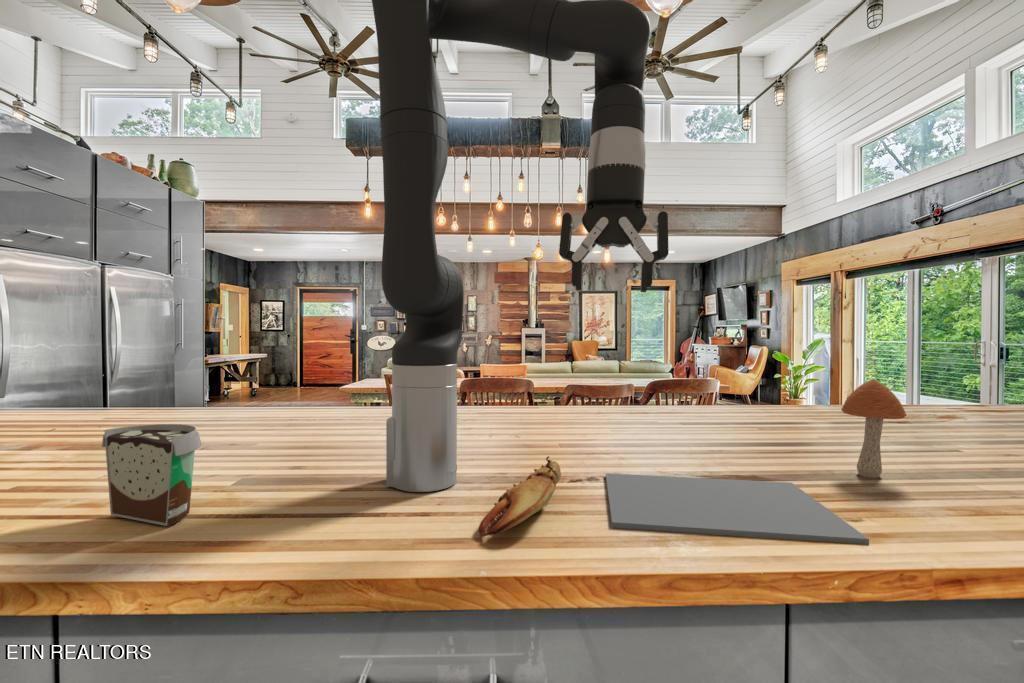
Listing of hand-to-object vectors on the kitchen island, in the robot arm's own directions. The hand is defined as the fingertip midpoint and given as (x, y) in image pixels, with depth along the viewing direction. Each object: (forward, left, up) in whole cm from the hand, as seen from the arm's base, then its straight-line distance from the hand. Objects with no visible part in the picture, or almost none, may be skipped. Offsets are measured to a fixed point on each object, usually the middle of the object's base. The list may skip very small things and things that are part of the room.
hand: (610, 291), depth 65 cm
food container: (-53, -16, -28) cm, 62 cm away
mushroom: (+40, +14, -28) cm, 50 cm away
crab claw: (-7, +1, -24) cm, 25 cm away
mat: (+13, -3, -27) cm, 30 cm away
